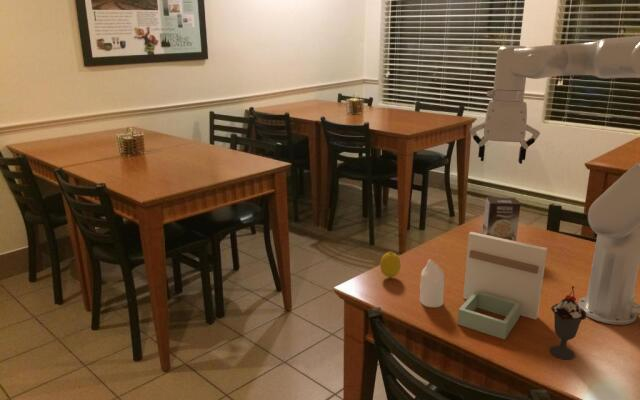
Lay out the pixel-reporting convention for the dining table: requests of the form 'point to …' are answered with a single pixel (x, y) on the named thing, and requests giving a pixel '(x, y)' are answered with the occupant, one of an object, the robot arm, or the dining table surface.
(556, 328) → the sundae
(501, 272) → the wall holder
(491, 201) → the coffee box
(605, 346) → the dining table surface
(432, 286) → the white bottle
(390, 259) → the lemon
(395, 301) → the dining table surface
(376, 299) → the dining table surface
